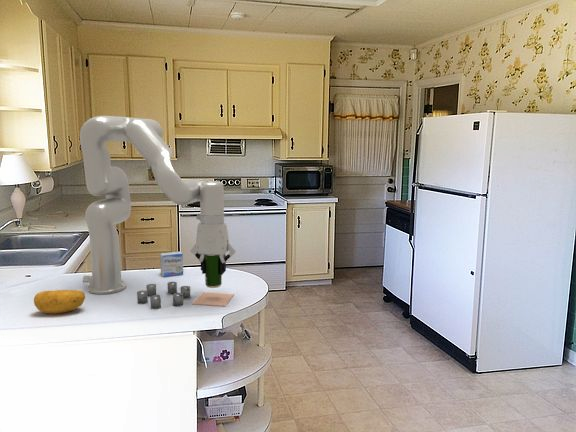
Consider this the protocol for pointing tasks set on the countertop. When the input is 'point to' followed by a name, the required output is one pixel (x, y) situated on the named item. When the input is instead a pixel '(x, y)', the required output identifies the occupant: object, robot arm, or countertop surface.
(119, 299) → the countertop surface
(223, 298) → the terracotta tile
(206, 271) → the beer can
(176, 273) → the medicine box
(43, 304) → the potato
